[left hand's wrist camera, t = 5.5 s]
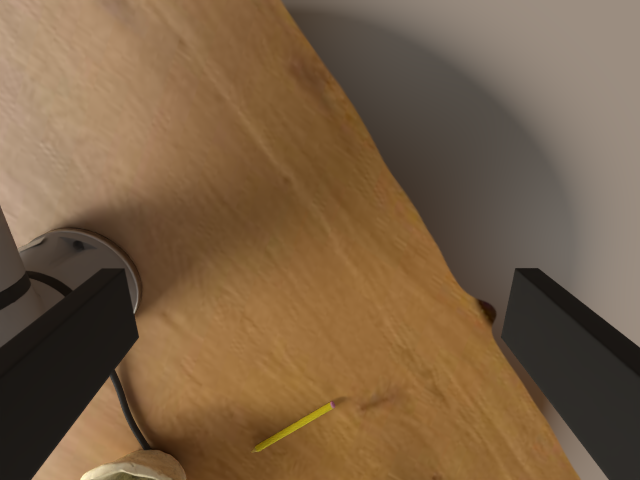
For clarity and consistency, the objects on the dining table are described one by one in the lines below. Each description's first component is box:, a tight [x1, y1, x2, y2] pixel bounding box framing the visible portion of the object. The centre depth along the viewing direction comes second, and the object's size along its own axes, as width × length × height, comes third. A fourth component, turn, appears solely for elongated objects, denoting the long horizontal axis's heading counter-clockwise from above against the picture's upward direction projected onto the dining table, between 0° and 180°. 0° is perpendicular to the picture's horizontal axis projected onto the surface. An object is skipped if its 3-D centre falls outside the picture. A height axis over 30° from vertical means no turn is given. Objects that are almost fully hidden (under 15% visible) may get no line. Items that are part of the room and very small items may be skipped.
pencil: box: [250, 401, 335, 453], centre depth 58 cm, size 16×1×1 cm, turn 127°
